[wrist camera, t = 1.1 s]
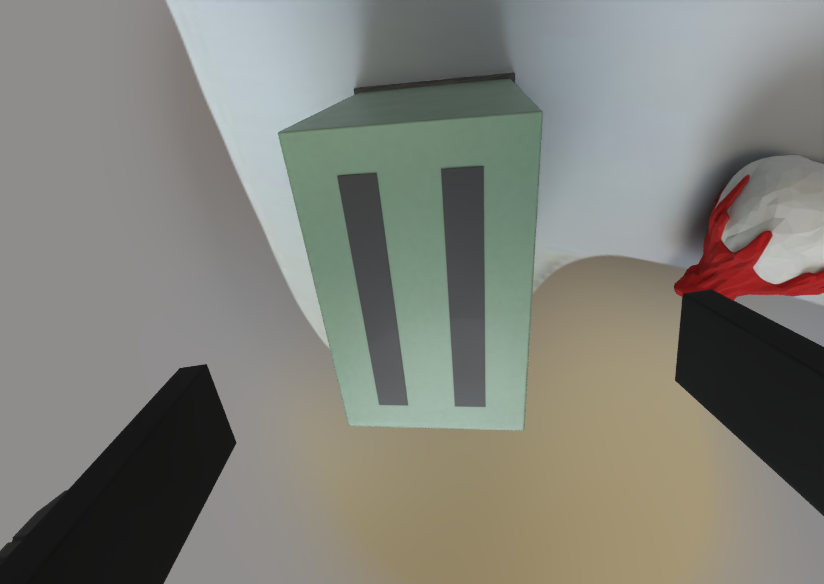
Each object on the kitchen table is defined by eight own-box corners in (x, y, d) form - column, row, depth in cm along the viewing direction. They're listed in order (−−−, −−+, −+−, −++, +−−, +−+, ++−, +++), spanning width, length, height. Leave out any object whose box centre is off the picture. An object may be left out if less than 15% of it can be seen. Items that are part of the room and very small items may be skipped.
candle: (917, 169, 30) (718, 302, 38) (810, 74, 27) (625, 238, 36) (1047, 232, 22) (766, 377, 31) (915, 111, 20) (654, 302, 29)
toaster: (355, 87, 32) (267, 125, 18) (514, 72, 30) (552, 101, 16) (387, 308, 41) (347, 441, 28) (508, 306, 40) (528, 447, 26)
